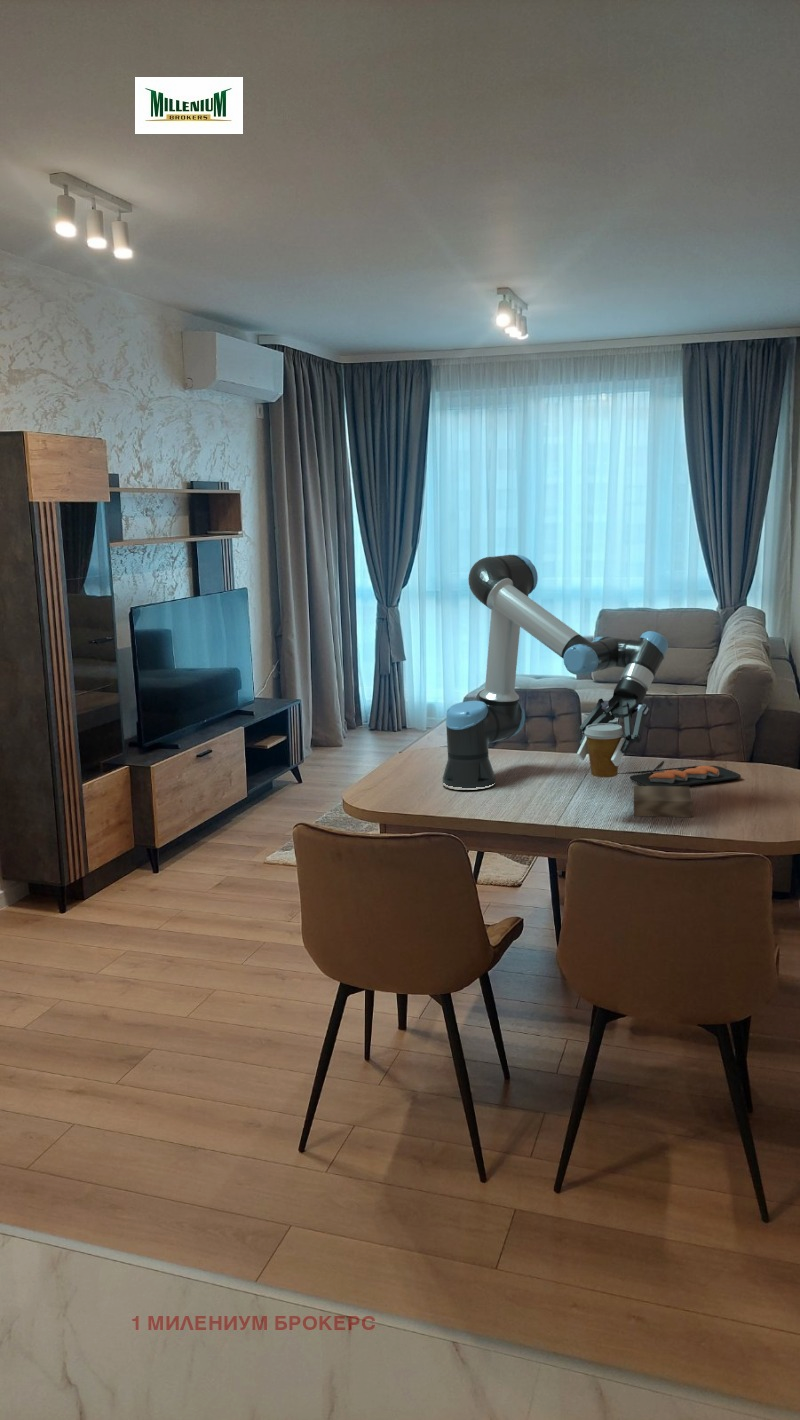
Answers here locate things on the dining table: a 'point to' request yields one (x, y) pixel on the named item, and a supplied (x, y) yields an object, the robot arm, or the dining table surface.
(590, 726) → the disposable coffee cup
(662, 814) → the walnut base
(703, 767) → the sushi plate
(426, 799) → the dining table surface
